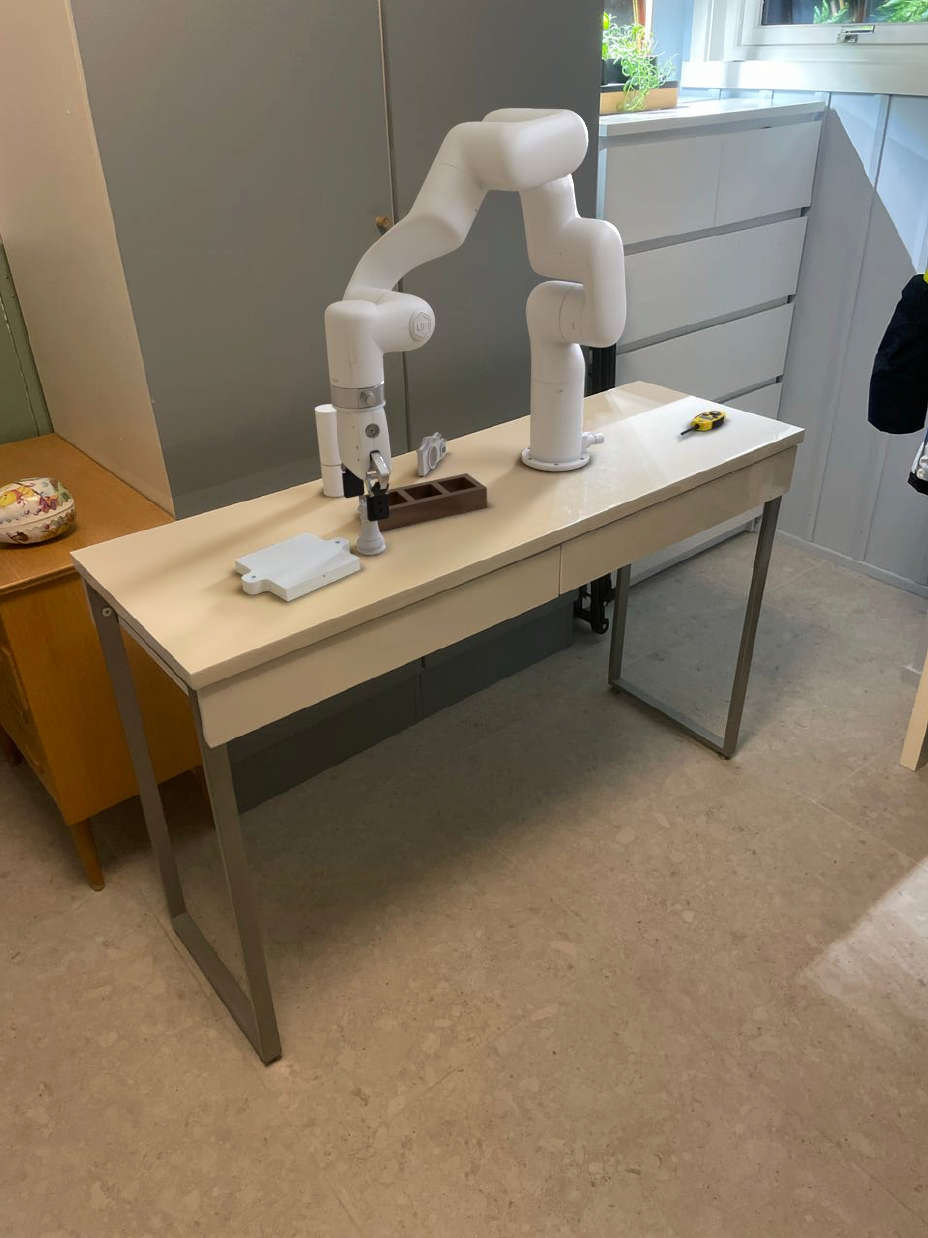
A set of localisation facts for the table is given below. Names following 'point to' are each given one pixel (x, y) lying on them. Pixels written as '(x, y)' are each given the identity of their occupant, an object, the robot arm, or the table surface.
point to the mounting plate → (296, 566)
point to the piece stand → (432, 500)
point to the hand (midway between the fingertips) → (366, 507)
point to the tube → (329, 450)
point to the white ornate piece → (430, 453)
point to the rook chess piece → (369, 534)
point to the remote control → (707, 421)
